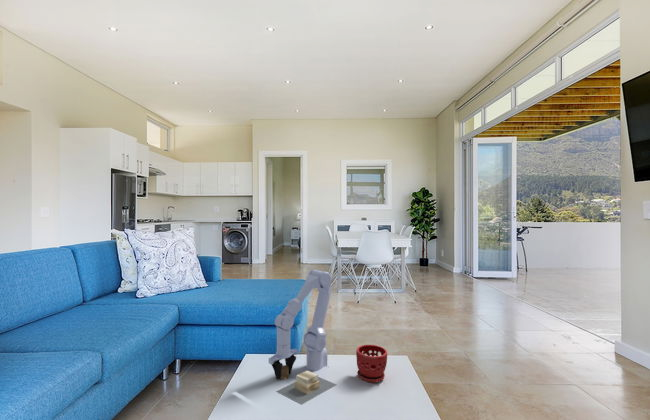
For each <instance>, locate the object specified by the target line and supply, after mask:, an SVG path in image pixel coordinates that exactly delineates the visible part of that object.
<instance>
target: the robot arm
mask: <svg viewBox="0 0 650 420" xmlns="http://www.w3.org/2000/svg"><path fill="white" fill-rule="evenodd" d="M305 278H306V279H305V282H304V283H303V285H302V286H301V288H300V289H299V292H298V293H297V295H296V296H295V298H291V299H290V300H289V301H288V302H287V304H286V306H285V308H284V309H283V310H282V311H281V313H280V314H277V315H276V317H275V319H274V325H275V326H276V352H275V354H274V355H272V356H271V357H268V364H270V365H271V366H272V369H273V371H274V374H275V379H277V380H281V379H280V378H281V368H282V365H284V364H283V363H282V362H281V360H284V361H285V365H286V366H288V367H289V375H291V374H292V370H293V366H294V364H295V362H296V361H297V355H298V349H297V348H292V349H291V333H292V332H291V330H292V329H291V328H293V326H294V323H295V318H296V316H297V315H298V313H299V312H300V310H301V309H302V308H303V302H304V300H305V299H306V298H307V297H308V296H309V294H310V293H311V291H312V290H313V289H317V290H318V295H317V300H316V304H315V309H314V313H313V318H312V322H311V325H310V327H308V328H307V330H306V332H305V334H304V336H303V344H304V345H305V348H306V369H307V370H308V371H311V372H312V371H320V370H322V369H323V368H325V367H326V368H329V366H328V350H327V348H326V345H327V339H326V338H327V337H326V336H327V333H326V332H325V331H326V330H325V329H324V327H325V323H326V317H327V314H328V308H329V303H330V299H331V294H332V281H333V277H332V276H331V274H330V272H328V271H323V270H318V269H311V270H310V271H309V273H308V274H307V275H306V277H305Z"/></svg>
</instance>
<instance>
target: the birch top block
mask: <svg viewBox="0 0 650 420" xmlns="http://www.w3.org/2000/svg"><path fill="white" fill-rule="evenodd" d="M318 377H319V374H317V373H315V372H312V371H311V370H305V371H302V372H301V373H298V374H297V375H296V382H298V383H300V384H302V385H305V386H307V387H308V386H310V385H312V384H314V383H316V382H317V381H318Z"/></svg>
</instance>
